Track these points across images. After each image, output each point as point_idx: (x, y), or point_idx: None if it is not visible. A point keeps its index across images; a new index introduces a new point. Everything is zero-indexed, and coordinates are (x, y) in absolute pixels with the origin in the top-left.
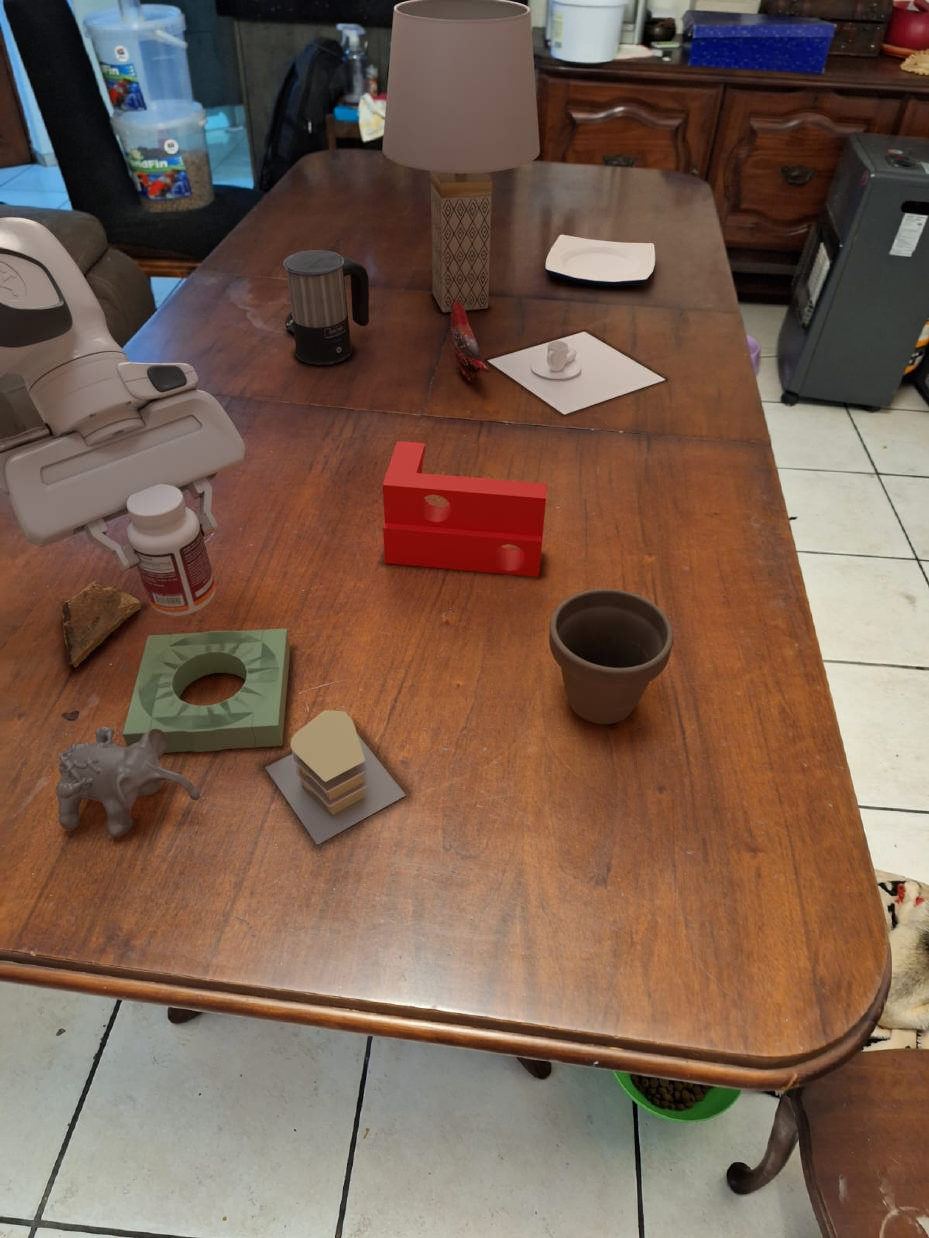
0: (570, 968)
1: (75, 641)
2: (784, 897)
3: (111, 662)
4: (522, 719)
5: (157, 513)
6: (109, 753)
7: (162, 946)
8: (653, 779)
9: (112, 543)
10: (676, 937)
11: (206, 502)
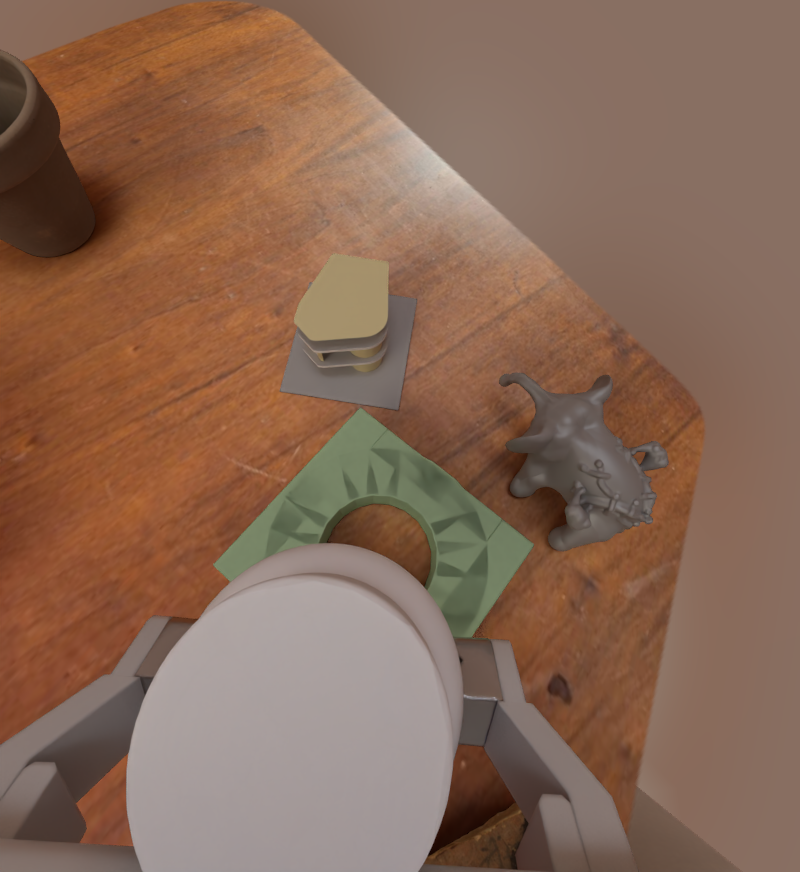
0: (339, 110)
1: (501, 865)
2: (176, 48)
3: (460, 768)
4: (137, 267)
5: (359, 595)
6: (599, 444)
7: (587, 315)
8: (128, 149)
9: (531, 728)
10: (262, 78)
11: (84, 706)
